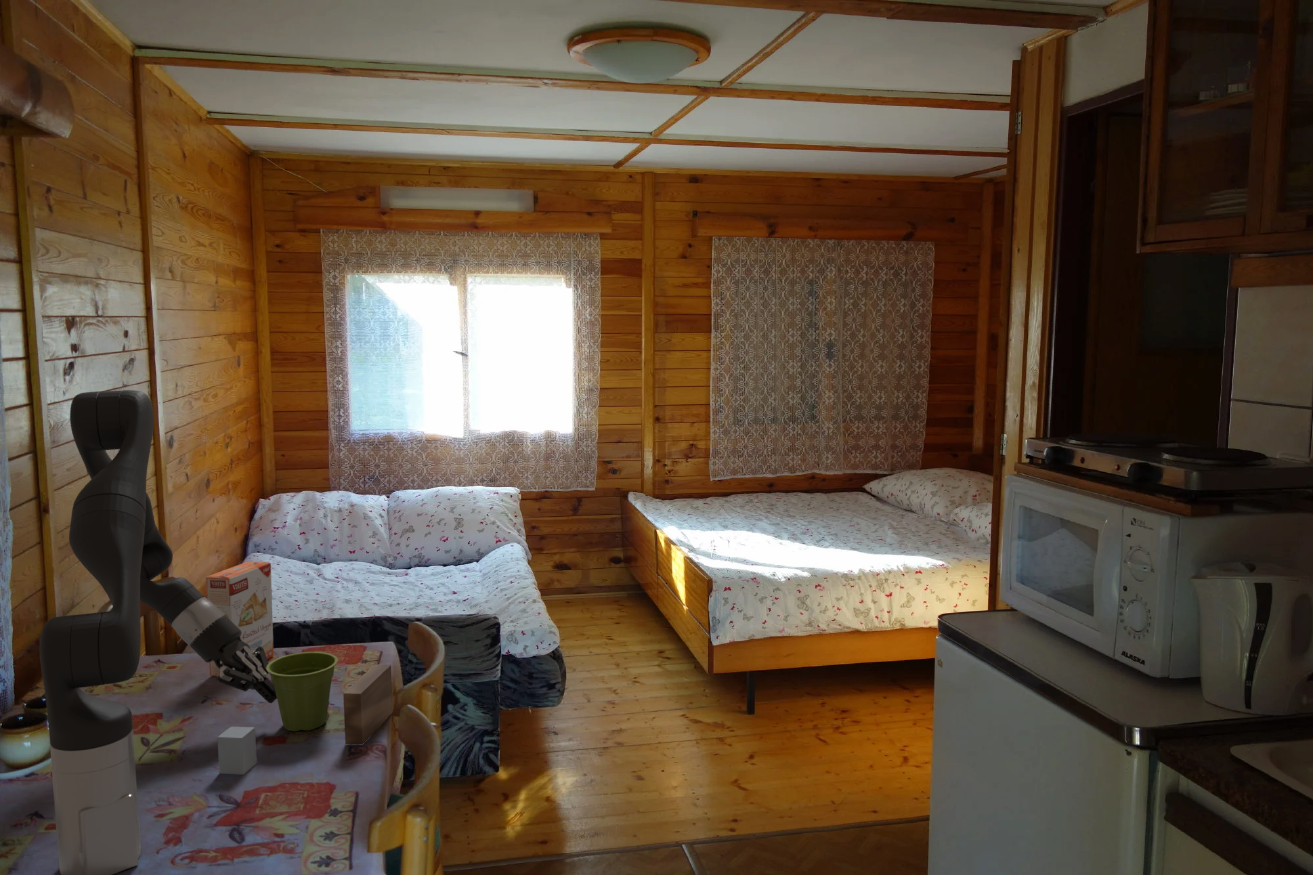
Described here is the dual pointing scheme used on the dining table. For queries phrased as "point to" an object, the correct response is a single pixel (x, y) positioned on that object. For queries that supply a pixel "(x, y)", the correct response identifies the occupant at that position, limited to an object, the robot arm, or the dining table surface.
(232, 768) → the grey upright block
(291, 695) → the plant pot
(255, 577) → the cracker box
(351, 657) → the dining table surface
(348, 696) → the rail
